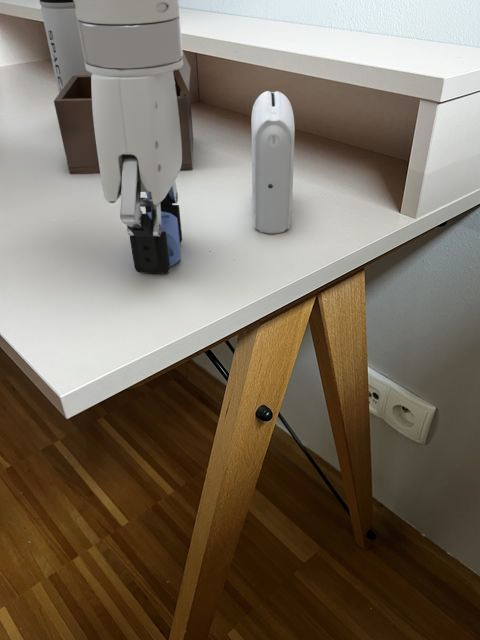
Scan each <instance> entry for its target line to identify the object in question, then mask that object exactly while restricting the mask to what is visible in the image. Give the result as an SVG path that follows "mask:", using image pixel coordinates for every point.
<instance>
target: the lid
mask: <svg viewBox="0 0 480 640" xmlns="http://www.w3.org/2000/svg"><path fill="white" fill-rule="evenodd" d="M182 52H183V66H182V67H181V68H180V69H178V70H174V71H173V74H174V76H175V79H176V81H177V83H178V85H179V87H180V89H181V91H182V93H183V95H184V94H186V93H189V87H190V86H191V85H190V82H191V69H192V68H191V66H190V64H189V61H188V58H187V57H186V55H185V52H184V50H183V49H182Z"/></svg>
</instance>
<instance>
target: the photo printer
mask: <svg viewBox="0 0 480 640" xmlns="http://www.w3.org/2000/svg"><path fill="white" fill-rule="evenodd" d="M250 117H251V118H250V121H251V123H250V125H251V126H250V127H251V132H250V133H251V135H250V136H251V137H250V138H251V173H252V174H251V190H252V191H251V192H252V193H251V195H252V196H251V199H252V200H251V201H252V202H251V203H252V204H251V211H252V221H253V226H254V229H255V230H259V232H260V233H263V234H281V233H284V232H285V231H286V230H289V229H290V225H291V221H292V211H293V194H294V193H293V191H294V166H295V165H294V163H295V162H294V161H295V159H294V158H295V133H296V132H295V131H296V130H295V116H294V111H293V107H292V104H291V102H290V100H289V99H288V97H287V96H286V95H285V94H284V93H282V92H281V91H278V90H276V91H269V90H266V91H263V92H262V93H261V94H260V95H258V96H257V98H256V99H255V101H254V103H253V105H252V110H251V116H250Z"/></svg>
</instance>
